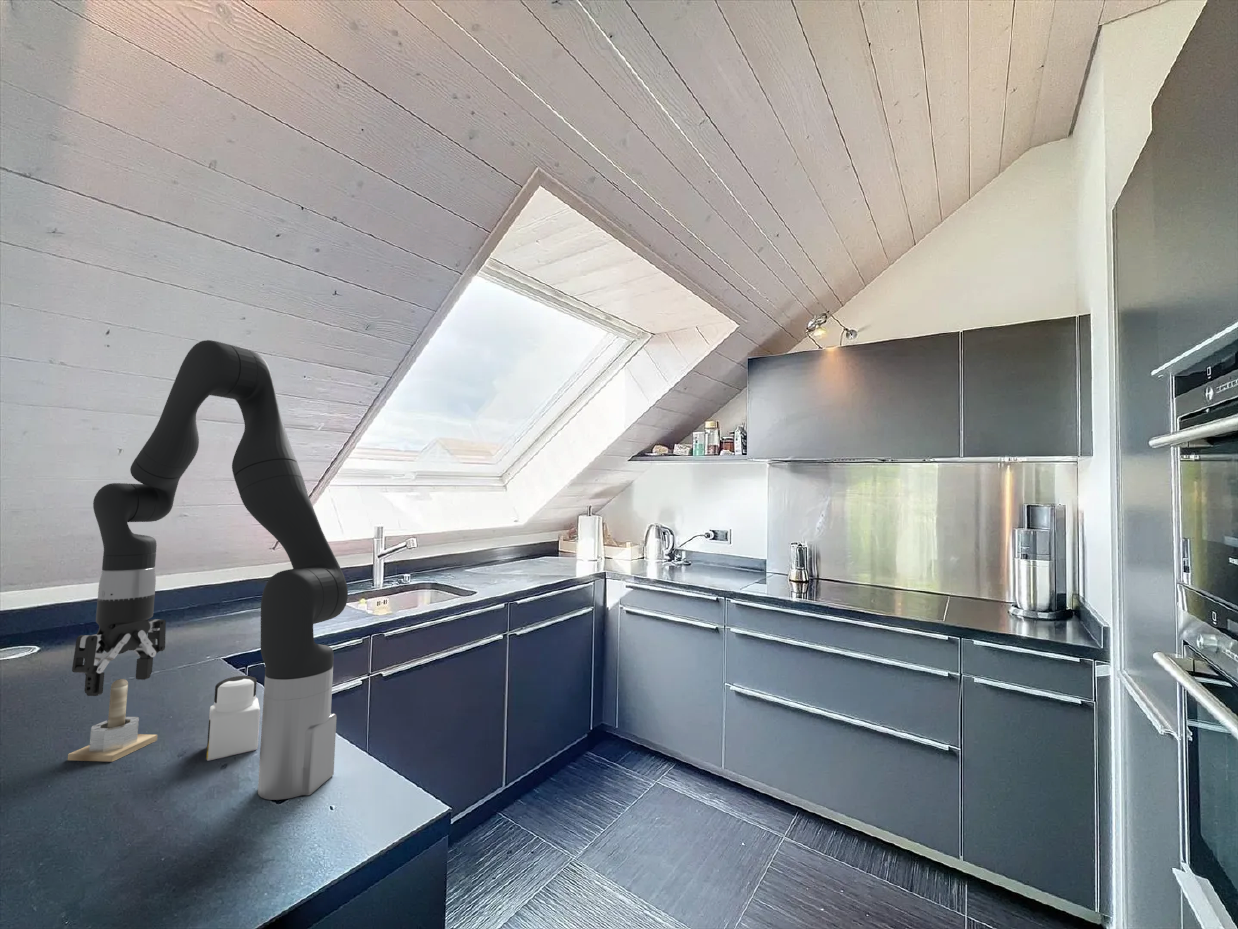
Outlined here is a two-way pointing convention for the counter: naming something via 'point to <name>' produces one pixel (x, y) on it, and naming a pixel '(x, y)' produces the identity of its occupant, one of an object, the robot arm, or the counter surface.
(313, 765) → the robot arm
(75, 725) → the counter surface
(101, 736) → the ring
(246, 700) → the medicine bottle
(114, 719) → the post stand
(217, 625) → the counter surface
